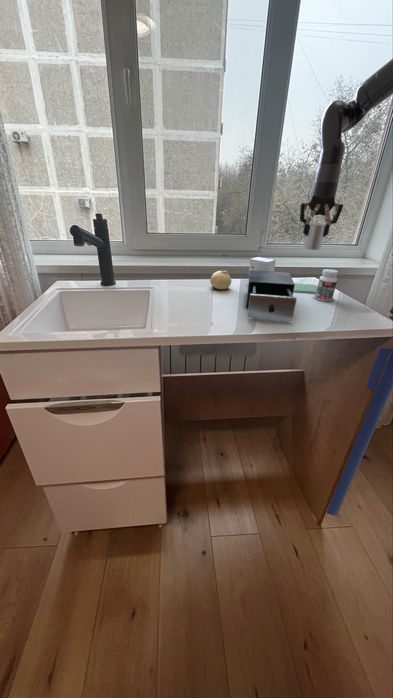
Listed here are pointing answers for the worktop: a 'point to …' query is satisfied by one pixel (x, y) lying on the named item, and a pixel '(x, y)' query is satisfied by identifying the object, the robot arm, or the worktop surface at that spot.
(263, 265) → the small box
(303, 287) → the drying pad
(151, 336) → the worktop surface
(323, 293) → the pill bottle
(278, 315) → the drawer
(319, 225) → the steel tumbler
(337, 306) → the worktop surface
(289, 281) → the box
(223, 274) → the onion
